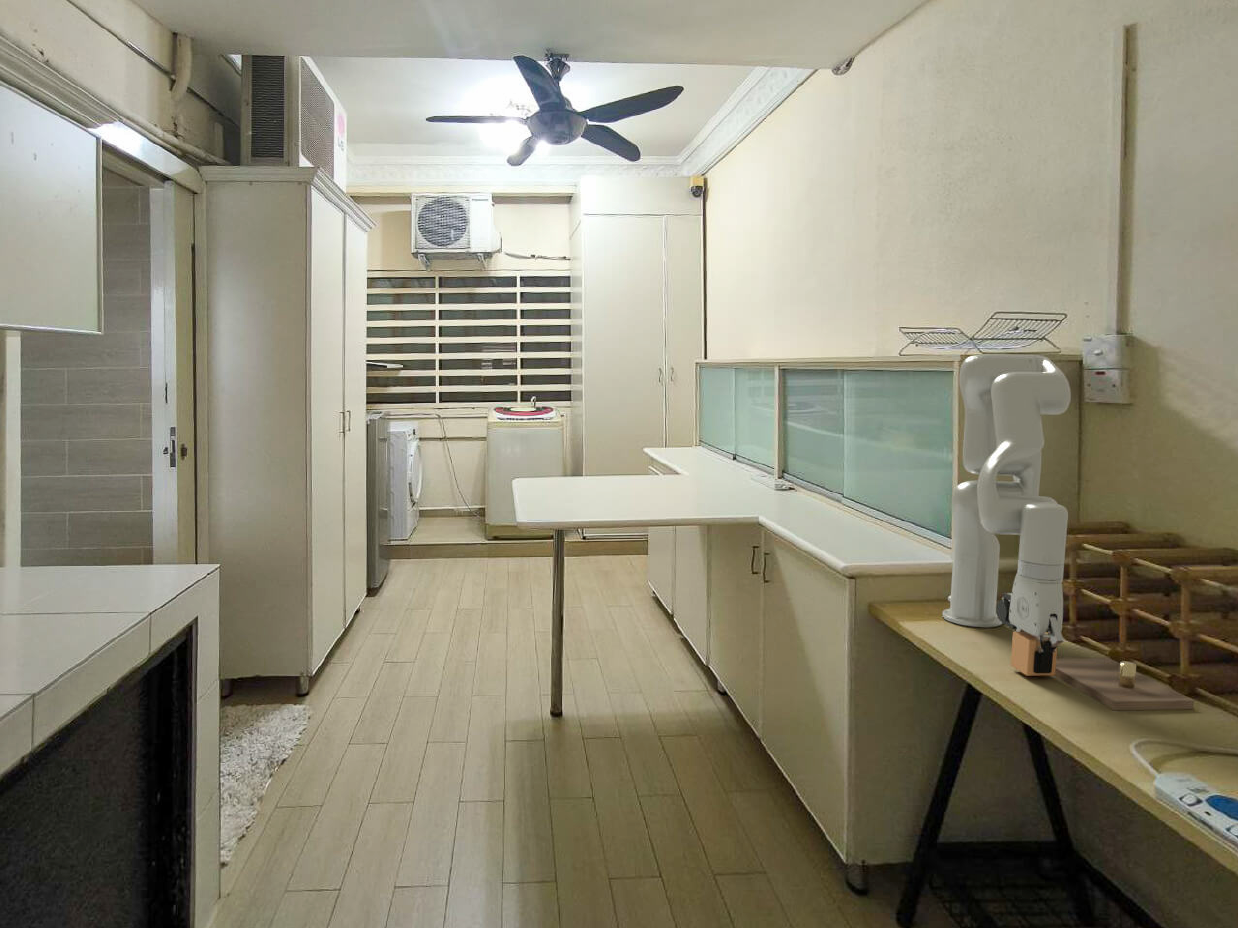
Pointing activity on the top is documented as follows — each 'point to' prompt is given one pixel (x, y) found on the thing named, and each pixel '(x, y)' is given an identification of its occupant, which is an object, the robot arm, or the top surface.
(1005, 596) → the pneumatic valve
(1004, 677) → the top surface
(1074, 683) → the brown wooden board
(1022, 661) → the peach foam cube
